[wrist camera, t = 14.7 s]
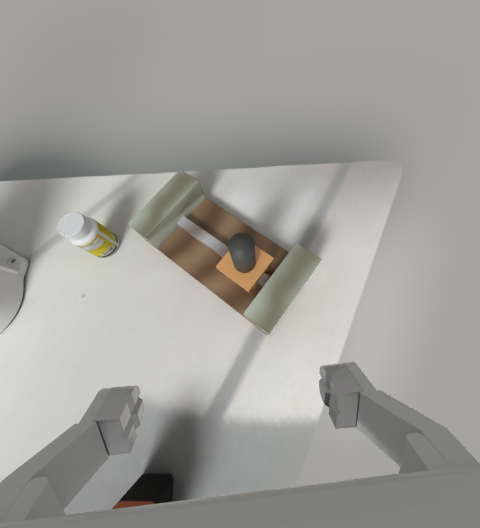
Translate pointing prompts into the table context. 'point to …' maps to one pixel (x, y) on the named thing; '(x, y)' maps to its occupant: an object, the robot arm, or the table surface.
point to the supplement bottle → (88, 234)
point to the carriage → (244, 261)
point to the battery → (148, 491)
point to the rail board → (220, 250)
